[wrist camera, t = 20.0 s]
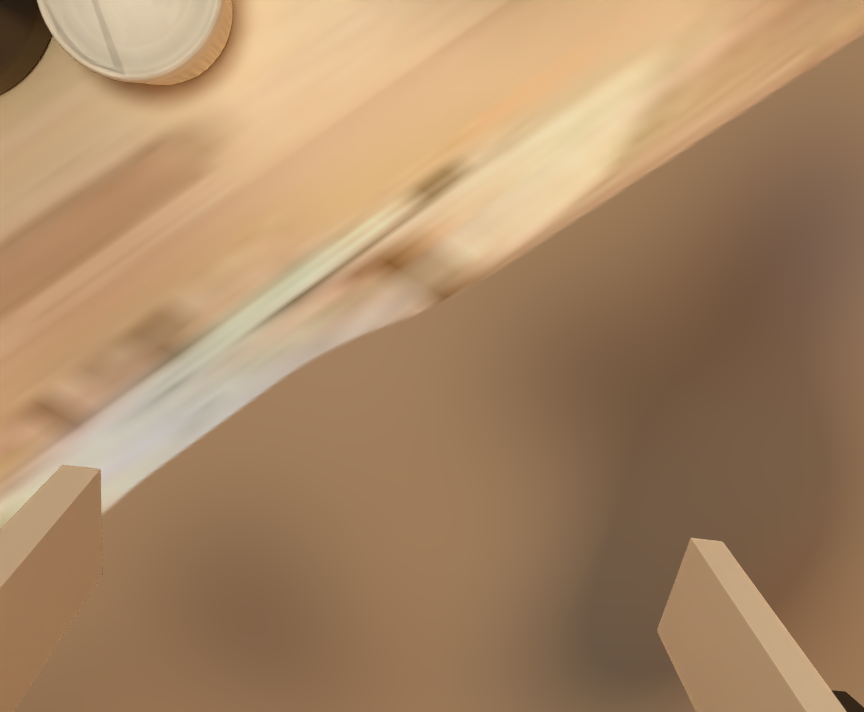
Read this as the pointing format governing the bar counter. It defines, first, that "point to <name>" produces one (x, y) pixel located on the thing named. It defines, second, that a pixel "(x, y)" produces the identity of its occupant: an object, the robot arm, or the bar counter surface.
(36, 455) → the bar counter surface
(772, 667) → the robot arm
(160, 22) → the ramekin
